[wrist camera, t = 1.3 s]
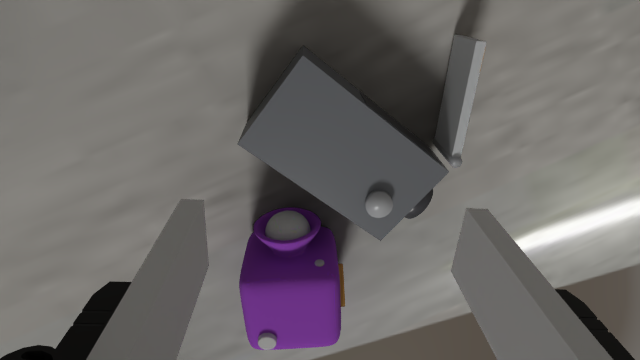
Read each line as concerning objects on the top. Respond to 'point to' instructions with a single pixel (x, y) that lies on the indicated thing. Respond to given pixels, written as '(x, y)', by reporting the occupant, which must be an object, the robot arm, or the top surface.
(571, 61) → the top surface
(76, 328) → the robot arm
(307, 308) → the toy camera
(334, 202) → the box
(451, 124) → the side door
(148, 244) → the top surface
